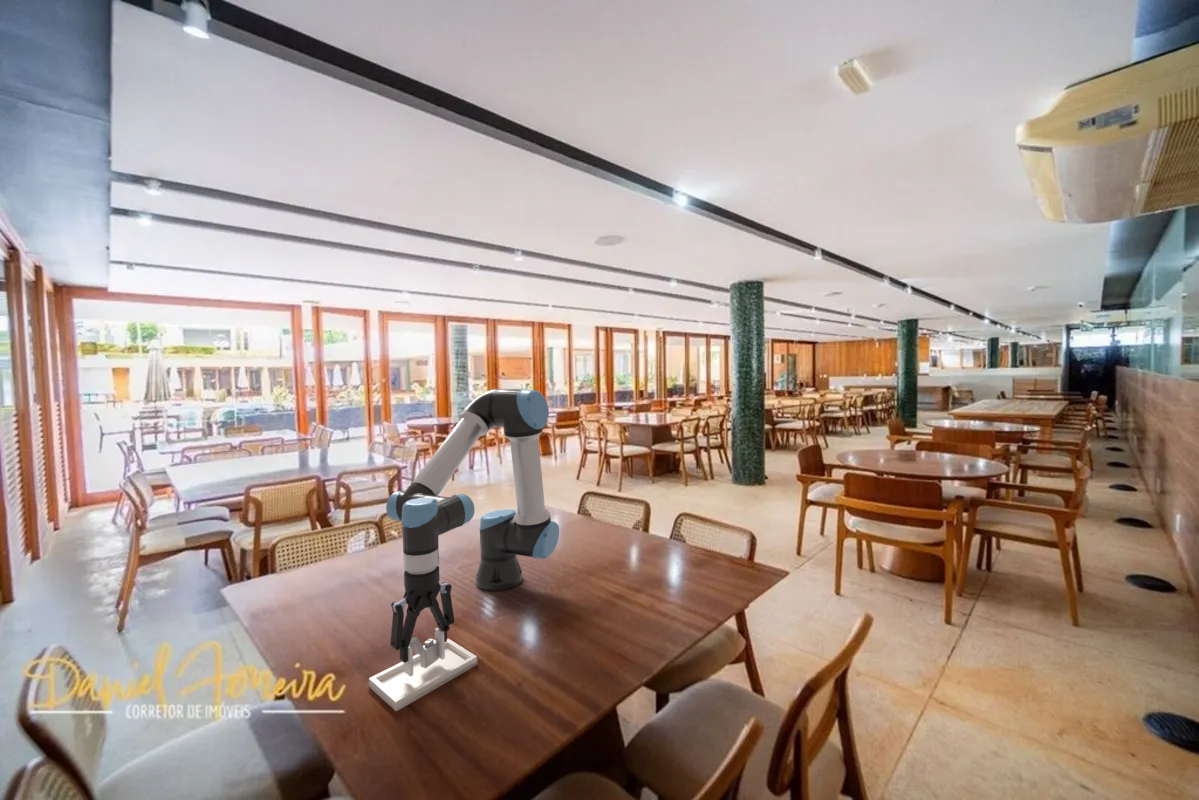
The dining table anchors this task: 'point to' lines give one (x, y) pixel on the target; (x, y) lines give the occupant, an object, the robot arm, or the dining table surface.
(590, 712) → the dining table surface
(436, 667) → the tray
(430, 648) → the lighter
